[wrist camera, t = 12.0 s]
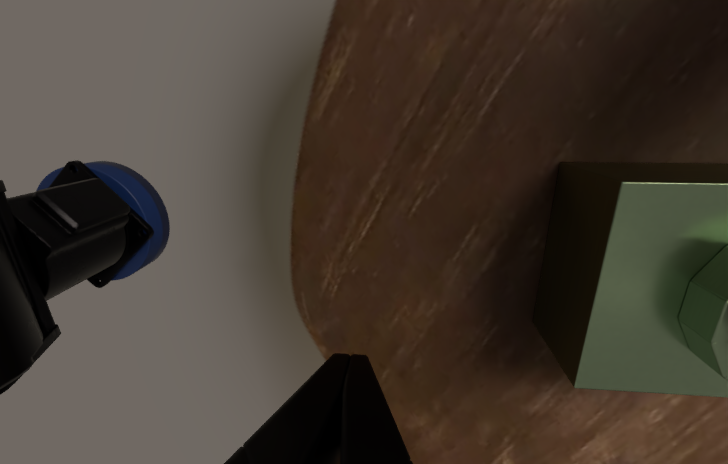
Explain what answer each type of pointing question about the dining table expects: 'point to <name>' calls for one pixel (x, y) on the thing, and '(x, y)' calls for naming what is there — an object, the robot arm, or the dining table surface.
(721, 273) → the push button box
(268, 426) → the robot arm
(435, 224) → the dining table surface
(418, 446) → the dining table surface
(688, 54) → the dining table surface
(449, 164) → the dining table surface
